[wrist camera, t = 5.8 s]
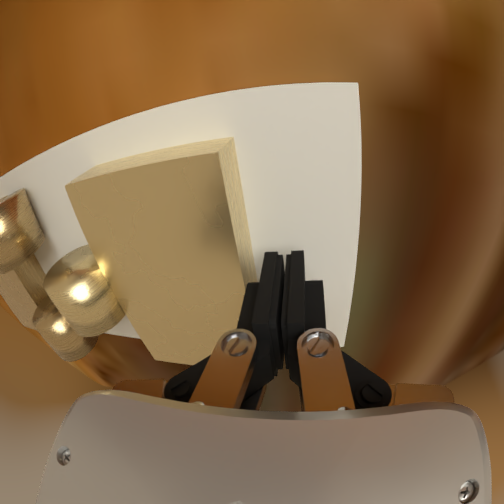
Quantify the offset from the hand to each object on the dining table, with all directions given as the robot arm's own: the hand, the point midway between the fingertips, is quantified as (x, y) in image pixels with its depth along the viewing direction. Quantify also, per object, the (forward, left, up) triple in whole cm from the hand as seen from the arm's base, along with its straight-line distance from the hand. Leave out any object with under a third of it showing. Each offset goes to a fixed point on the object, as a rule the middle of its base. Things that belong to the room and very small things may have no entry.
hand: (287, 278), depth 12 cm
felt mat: (0, -13, -2) cm, 13 cm away
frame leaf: (0, -21, -1) cm, 21 cm away
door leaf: (0, -6, -1) cm, 7 cm away
